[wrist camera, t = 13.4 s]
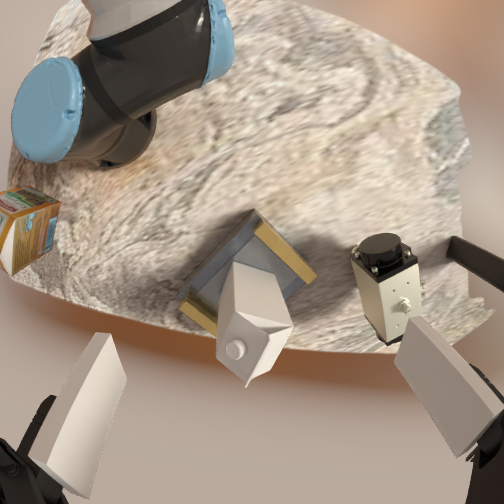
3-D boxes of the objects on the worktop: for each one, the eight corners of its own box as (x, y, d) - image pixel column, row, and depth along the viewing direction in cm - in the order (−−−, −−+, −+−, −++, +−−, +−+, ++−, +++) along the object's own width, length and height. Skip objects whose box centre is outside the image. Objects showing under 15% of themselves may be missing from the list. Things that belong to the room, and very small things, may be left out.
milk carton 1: (20, 230, 42) (-37, 261, 24) (27, 185, 40) (-37, 203, 22) (51, 249, 45) (-5, 288, 27) (61, 202, 42) (-5, 227, 24)
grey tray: (181, 283, 49) (173, 305, 41) (254, 208, 45) (259, 218, 38) (250, 337, 54) (253, 363, 46) (321, 275, 50) (335, 294, 43)
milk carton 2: (274, 273, 44) (302, 348, 26) (258, 309, 46) (274, 392, 28) (232, 260, 42) (234, 332, 25) (218, 298, 44) (214, 381, 27)
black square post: (456, 261, 53) (541, 318, 24) (444, 256, 52) (535, 316, 24) (464, 240, 51) (553, 290, 23) (452, 234, 50) (548, 285, 22)
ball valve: (387, 292, 53) (432, 337, 36) (353, 308, 54) (392, 361, 37) (371, 215, 47) (429, 243, 31) (332, 231, 48) (380, 269, 31)
